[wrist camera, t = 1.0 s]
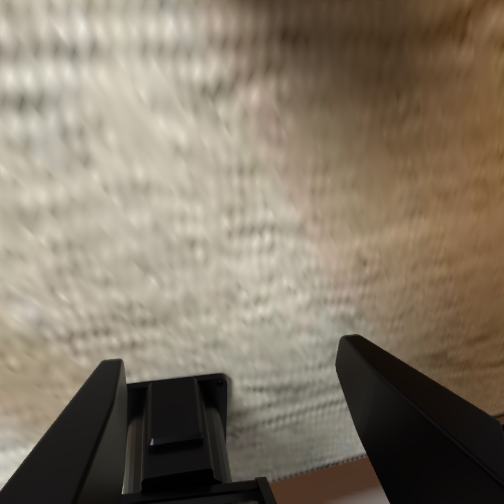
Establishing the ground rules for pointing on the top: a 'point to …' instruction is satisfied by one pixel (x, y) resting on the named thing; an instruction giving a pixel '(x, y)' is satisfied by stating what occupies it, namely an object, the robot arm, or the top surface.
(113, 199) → the top surface
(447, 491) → the robot arm
